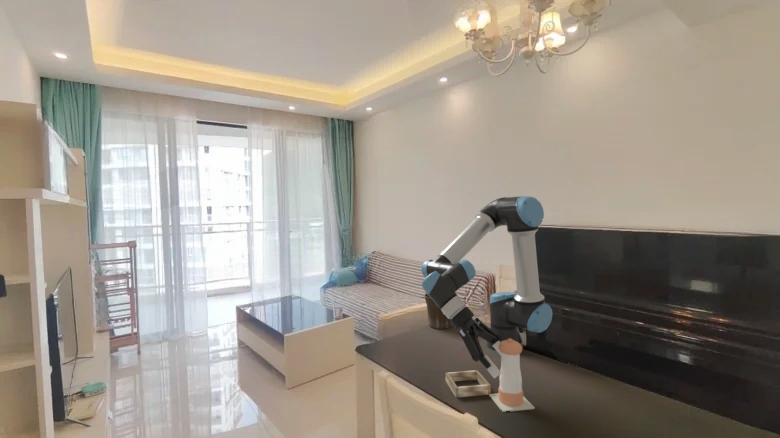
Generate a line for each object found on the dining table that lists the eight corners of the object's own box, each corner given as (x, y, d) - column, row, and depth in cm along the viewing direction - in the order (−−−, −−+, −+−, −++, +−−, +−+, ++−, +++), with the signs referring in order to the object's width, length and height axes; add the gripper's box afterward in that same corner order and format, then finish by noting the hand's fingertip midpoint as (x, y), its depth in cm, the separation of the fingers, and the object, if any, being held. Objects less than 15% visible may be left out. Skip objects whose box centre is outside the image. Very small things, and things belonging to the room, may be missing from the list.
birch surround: (477, 378, 132) (477, 370, 132) (490, 394, 121) (490, 385, 121) (445, 381, 131) (445, 372, 131) (456, 397, 119) (455, 388, 119)
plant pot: (423, 330, 187) (422, 298, 186) (425, 320, 202) (425, 291, 202) (456, 331, 184) (456, 298, 183) (456, 321, 200) (455, 291, 199)
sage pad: (518, 392, 121) (518, 391, 121) (534, 409, 111) (534, 407, 111) (489, 395, 120) (489, 394, 120) (502, 412, 110) (502, 410, 110)
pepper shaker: (501, 392, 121) (501, 333, 120) (525, 397, 117) (524, 337, 117) (496, 402, 114) (495, 340, 114) (520, 408, 111) (520, 344, 110)
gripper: (463, 310, 136) (506, 360, 128) (434, 330, 115) (483, 390, 107) (477, 297, 133) (522, 347, 125) (450, 315, 112) (501, 376, 104)
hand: (504, 367), depth 116 cm, fingers open, 13 cm apart
